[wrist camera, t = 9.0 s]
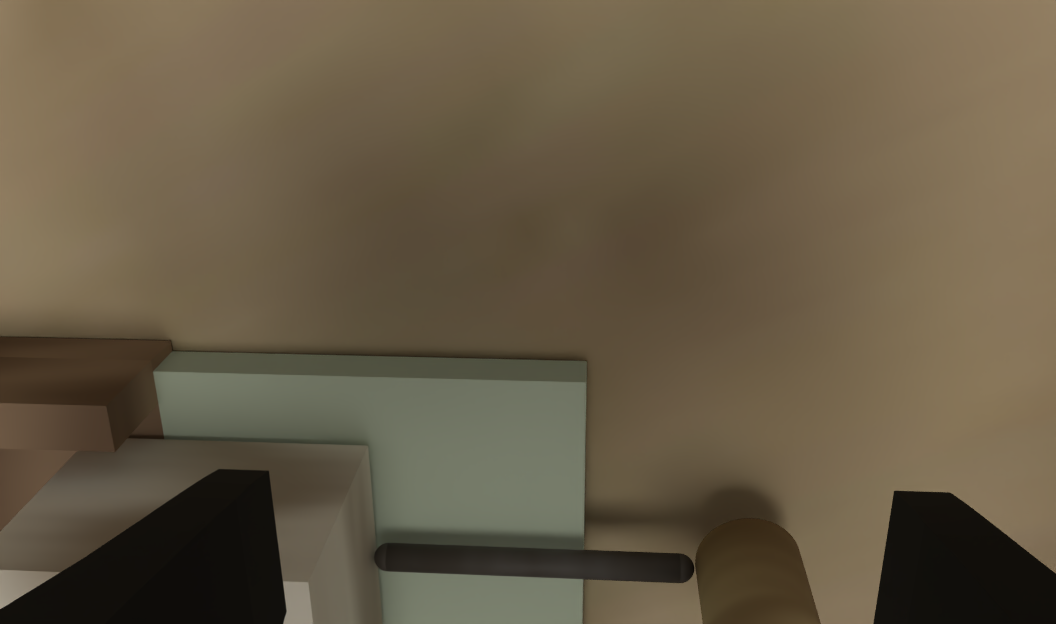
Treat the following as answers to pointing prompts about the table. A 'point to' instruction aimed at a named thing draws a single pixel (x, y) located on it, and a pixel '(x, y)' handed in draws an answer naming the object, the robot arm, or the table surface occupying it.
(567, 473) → the pad
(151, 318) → the table surface
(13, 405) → the lane shelf
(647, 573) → the block rod cylinder assembly
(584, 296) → the table surface
